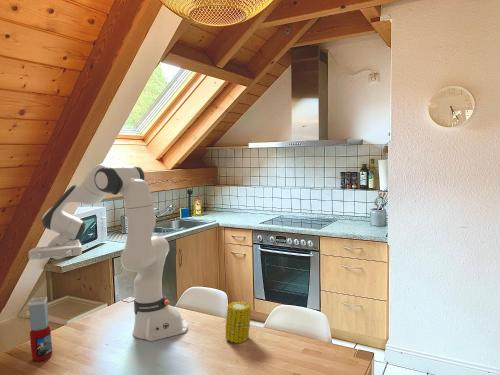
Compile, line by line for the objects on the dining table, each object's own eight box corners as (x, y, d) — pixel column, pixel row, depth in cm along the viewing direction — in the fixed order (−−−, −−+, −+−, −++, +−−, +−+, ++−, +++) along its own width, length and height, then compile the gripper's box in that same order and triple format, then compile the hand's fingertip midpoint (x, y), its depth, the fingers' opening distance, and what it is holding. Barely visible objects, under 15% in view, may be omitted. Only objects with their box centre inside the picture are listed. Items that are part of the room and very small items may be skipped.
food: (226, 337, 164) (250, 338, 164) (223, 345, 152) (249, 346, 152) (227, 299, 166) (251, 300, 166) (224, 303, 154) (250, 304, 154)
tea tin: (49, 322, 151) (47, 296, 150) (46, 328, 146) (44, 301, 145) (33, 324, 150) (31, 298, 149) (30, 330, 145) (28, 303, 144)
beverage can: (44, 363, 145) (41, 331, 144) (27, 361, 147) (25, 329, 145) (56, 353, 152) (54, 323, 151) (40, 352, 153) (38, 321, 152)
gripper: (31, 243, 172) (23, 251, 159) (83, 239, 178) (79, 246, 165) (32, 257, 173) (25, 266, 160) (84, 253, 179) (80, 261, 165)
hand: (53, 256), depth 162 cm, fingers open, 8 cm apart
